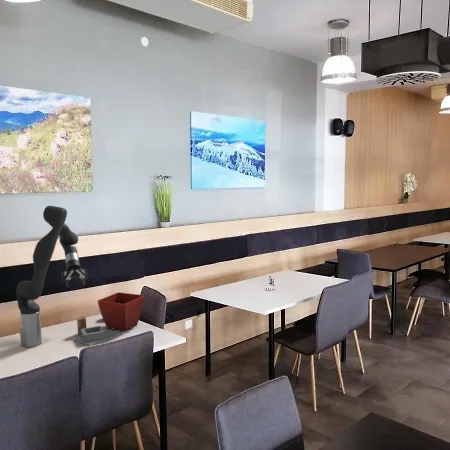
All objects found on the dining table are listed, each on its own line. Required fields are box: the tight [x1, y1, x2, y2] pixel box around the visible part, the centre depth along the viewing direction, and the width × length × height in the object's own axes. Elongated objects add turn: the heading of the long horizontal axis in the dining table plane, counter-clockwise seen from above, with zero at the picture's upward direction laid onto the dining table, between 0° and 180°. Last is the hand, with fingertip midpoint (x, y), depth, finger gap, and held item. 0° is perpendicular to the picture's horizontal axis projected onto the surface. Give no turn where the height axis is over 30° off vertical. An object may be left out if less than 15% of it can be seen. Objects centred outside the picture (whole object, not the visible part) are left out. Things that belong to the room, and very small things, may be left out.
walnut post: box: [76, 316, 87, 337], centre depth 246 cm, size 4×4×9 cm
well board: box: [73, 325, 122, 347], centre depth 240 cm, size 20×14×5 cm
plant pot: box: [97, 291, 145, 332], centre depth 257 cm, size 19×19×17 cm
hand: (76, 285), depth 254 cm, fingers open, 8 cm apart
